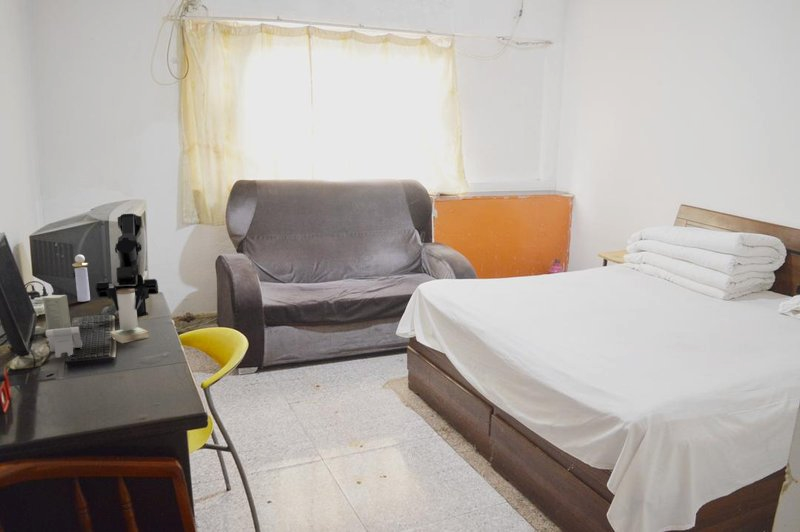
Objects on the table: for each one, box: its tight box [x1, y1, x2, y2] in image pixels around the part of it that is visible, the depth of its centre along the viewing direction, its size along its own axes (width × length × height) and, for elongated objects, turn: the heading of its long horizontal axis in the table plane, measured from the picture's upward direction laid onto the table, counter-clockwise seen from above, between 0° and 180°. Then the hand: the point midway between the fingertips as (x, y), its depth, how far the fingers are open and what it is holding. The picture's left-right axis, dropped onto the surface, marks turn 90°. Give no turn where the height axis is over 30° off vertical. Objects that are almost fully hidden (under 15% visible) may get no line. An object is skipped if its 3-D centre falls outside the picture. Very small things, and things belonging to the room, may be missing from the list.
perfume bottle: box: [71, 254, 91, 302], centre depth 243 cm, size 6×6×20 cm
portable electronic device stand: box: [45, 326, 83, 359], centre depth 181 cm, size 9×8×8 cm
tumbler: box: [116, 288, 139, 330], centre depth 195 cm, size 6×6×13 cm
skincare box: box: [42, 294, 72, 330], centre depth 205 cm, size 6×4×12 cm
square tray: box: [109, 326, 150, 344], centre depth 197 cm, size 9×9×2 cm
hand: (126, 309), depth 194 cm, fingers closed on tumbler, 5 cm apart
